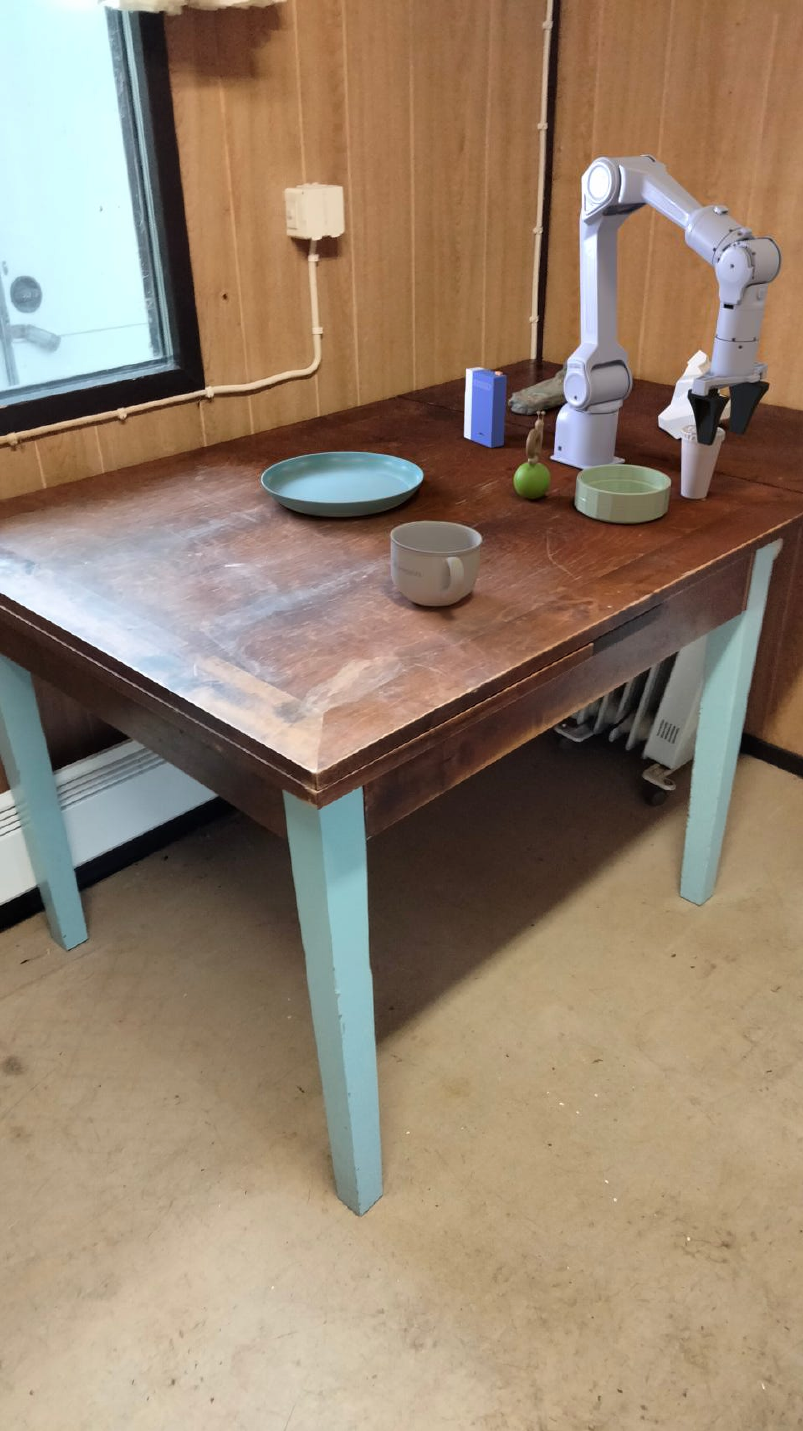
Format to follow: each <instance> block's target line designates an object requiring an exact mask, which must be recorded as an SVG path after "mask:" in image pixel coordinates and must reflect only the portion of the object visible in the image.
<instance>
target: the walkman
mask: <svg viewBox="0 0 803 1431" xmlns="http://www.w3.org/2000/svg"><path fill="white" fill-rule="evenodd" d="M507 378H508V376H507V375H505V374H503V372H502V371H499V370H497V371H493V370H490V369H487V368H484V367H481V366H476V367H468V368H465V391H464V420H463V421H464V423H463V438H466V439H468V440H470V441H473V442H475V443H478V444H480V445H483V446H486V447H488V448H490V449H492V448H497V447H501V446H504V445H505V425H506V424H505V422H506V421H505V420H506V402H507V401H506V399H507V381H508V380H507Z"/></svg>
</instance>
